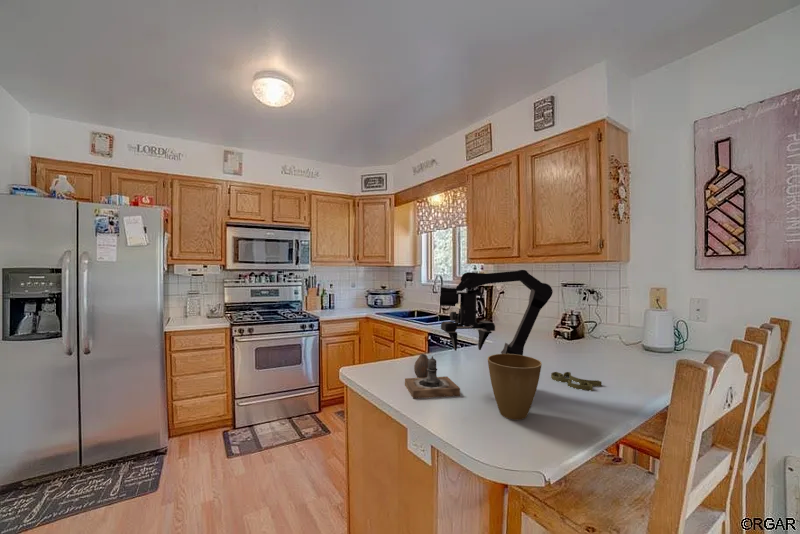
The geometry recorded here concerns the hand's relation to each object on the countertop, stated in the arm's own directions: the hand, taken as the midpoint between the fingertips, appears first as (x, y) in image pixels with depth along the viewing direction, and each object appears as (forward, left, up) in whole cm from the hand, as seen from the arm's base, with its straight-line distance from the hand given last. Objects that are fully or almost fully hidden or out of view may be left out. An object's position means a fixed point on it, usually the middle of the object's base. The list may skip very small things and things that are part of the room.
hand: (467, 350), depth 126 cm
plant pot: (-4, +26, -13) cm, 29 cm away
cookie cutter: (-42, +2, -14) cm, 44 cm away
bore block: (+14, +2, -13) cm, 19 cm away
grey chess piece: (+14, +2, -13) cm, 19 cm away
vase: (+13, -13, -13) cm, 23 cm away
